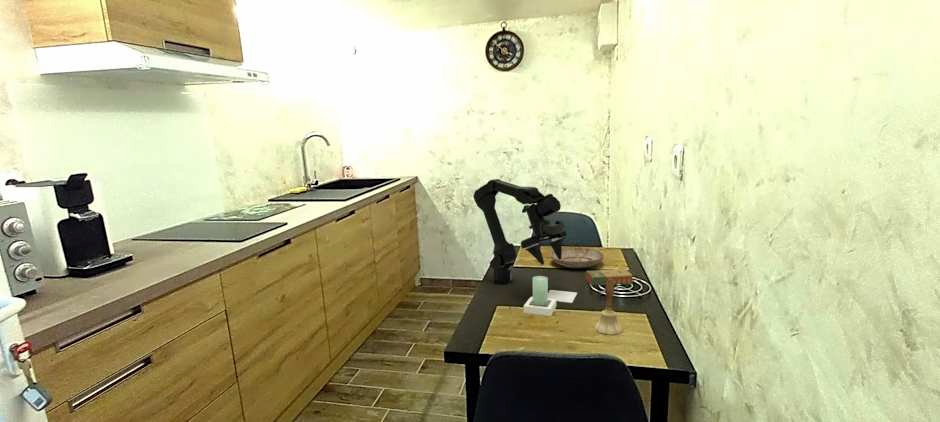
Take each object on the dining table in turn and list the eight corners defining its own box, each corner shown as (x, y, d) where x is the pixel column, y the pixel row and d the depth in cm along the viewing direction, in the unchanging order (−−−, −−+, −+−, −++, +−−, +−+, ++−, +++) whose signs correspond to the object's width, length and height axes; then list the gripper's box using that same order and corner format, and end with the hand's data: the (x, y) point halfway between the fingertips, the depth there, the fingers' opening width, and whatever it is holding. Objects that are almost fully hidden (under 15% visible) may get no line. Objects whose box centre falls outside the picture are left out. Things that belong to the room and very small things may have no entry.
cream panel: (543, 301, 167) (543, 299, 167) (550, 291, 176) (550, 289, 176) (572, 304, 164) (572, 302, 163) (577, 294, 173) (577, 292, 172)
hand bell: (603, 321, 150) (604, 273, 147) (627, 328, 144) (629, 278, 141) (589, 329, 144) (589, 279, 141) (613, 337, 138) (615, 285, 135)
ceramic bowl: (610, 260, 213) (610, 250, 212) (593, 275, 194) (593, 263, 193) (561, 254, 226) (561, 244, 225) (541, 267, 206) (541, 256, 205)
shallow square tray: (523, 314, 157) (523, 306, 156) (530, 304, 165) (530, 296, 164) (550, 317, 153) (550, 309, 153) (556, 307, 161) (556, 299, 161)
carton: (632, 285, 182) (632, 274, 181) (591, 287, 181) (591, 276, 180) (624, 278, 190) (624, 267, 189) (585, 280, 189) (585, 269, 188)
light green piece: (531, 311, 158) (530, 279, 156) (535, 305, 162) (534, 275, 160) (545, 313, 156) (545, 281, 154) (549, 307, 160) (549, 276, 158)
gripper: (534, 217, 158) (549, 261, 156) (570, 210, 170) (585, 251, 167) (513, 227, 167) (527, 269, 164) (549, 219, 178) (562, 258, 176)
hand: (551, 261), depth 167 cm, fingers open, 9 cm apart
